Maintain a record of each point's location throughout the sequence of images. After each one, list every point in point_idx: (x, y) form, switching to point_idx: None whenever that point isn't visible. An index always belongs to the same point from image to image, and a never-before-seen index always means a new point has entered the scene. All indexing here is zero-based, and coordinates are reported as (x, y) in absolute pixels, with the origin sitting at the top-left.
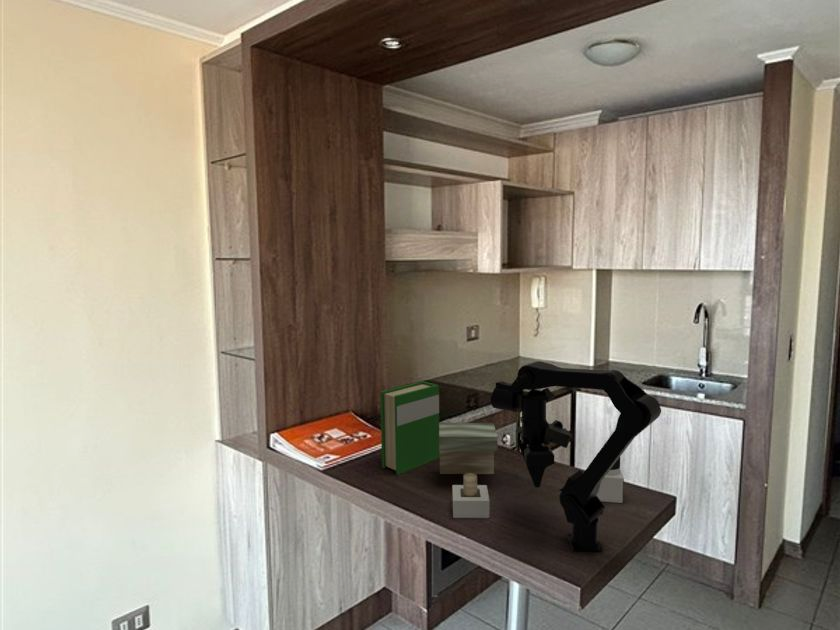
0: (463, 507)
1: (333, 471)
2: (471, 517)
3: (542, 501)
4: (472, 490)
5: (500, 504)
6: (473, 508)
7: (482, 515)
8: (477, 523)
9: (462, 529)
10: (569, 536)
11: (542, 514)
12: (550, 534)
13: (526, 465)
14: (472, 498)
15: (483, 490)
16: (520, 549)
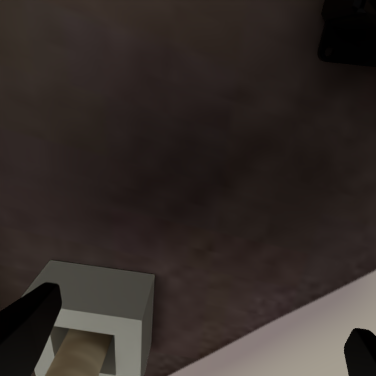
0: (145, 353)
1: None
2: (152, 312)
3: (15, 74)
4: (97, 369)
5: (64, 228)
6: (146, 332)
7: (152, 295)
8: (182, 304)
9: (210, 337)
10: (341, 55)
11: (127, 107)
12: (282, 122)
13: (36, 360)
14: (124, 354)
15: (62, 318)
16: (348, 240)
